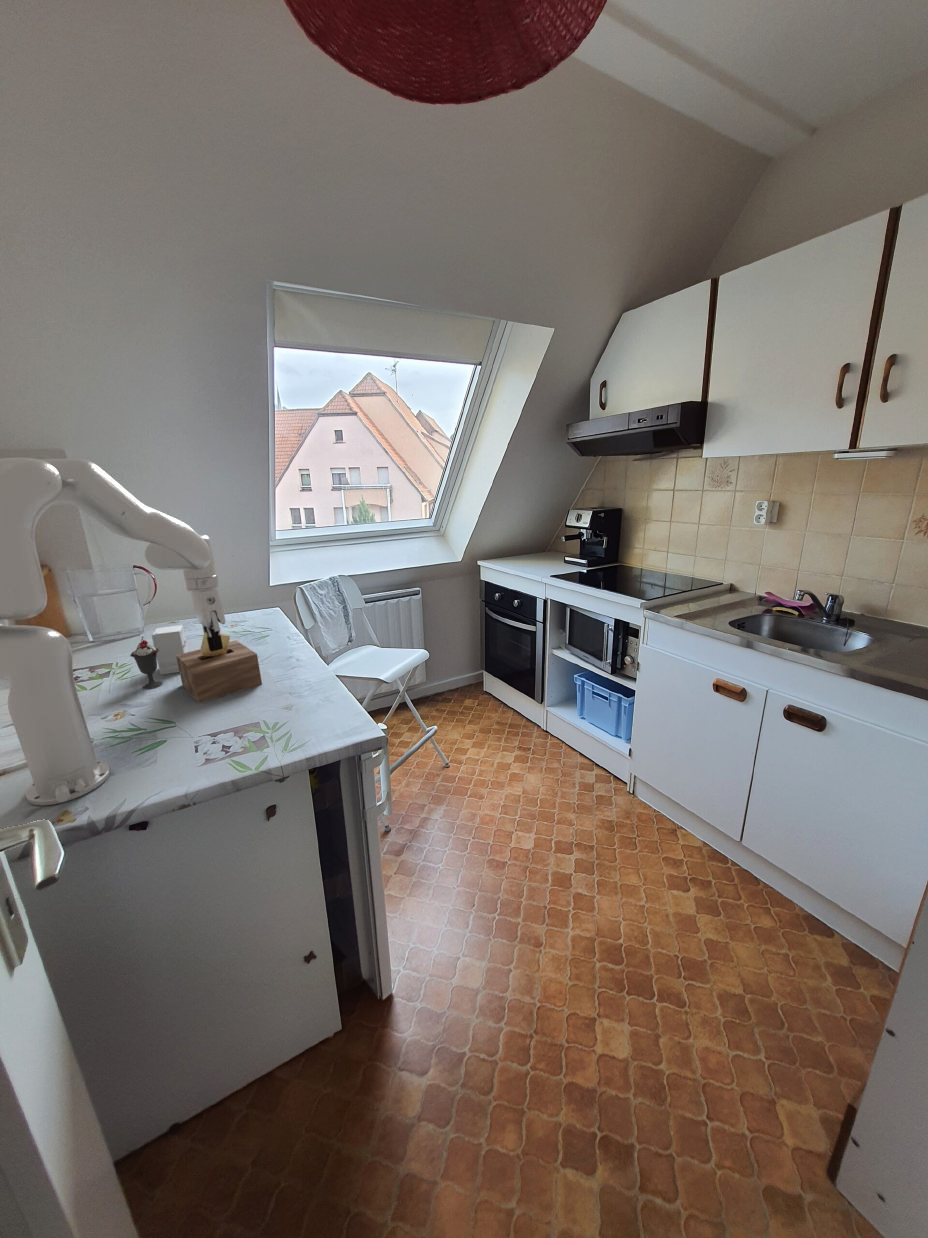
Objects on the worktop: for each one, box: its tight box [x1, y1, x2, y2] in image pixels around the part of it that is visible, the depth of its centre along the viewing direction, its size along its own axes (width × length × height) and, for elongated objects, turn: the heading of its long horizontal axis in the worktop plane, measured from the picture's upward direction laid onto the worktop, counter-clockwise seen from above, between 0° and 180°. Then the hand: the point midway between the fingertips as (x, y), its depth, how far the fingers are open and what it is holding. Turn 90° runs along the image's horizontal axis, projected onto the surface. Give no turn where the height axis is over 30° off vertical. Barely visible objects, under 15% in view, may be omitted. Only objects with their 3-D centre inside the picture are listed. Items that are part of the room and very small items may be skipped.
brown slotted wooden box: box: [176, 640, 263, 704], centre depth 132 cm, size 16×16×9 cm
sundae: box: [129, 636, 164, 690], centre depth 132 cm, size 7×7×15 cm
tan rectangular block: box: [200, 631, 231, 657], centre depth 130 cm, size 2×6×6 cm
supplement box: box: [151, 624, 189, 675], centre depth 144 cm, size 7×7×13 cm
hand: (214, 648), depth 131 cm, fingers closed on tan rectangular block, 1 cm apart
